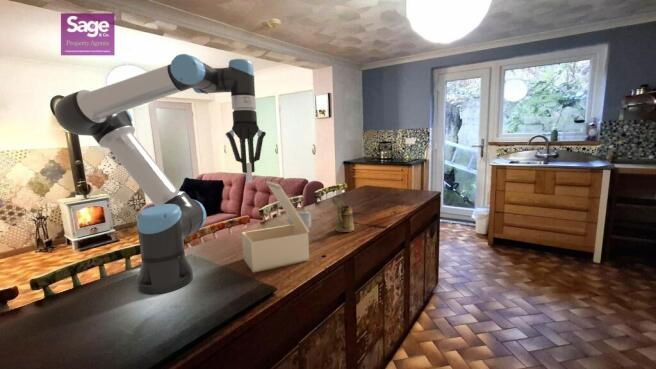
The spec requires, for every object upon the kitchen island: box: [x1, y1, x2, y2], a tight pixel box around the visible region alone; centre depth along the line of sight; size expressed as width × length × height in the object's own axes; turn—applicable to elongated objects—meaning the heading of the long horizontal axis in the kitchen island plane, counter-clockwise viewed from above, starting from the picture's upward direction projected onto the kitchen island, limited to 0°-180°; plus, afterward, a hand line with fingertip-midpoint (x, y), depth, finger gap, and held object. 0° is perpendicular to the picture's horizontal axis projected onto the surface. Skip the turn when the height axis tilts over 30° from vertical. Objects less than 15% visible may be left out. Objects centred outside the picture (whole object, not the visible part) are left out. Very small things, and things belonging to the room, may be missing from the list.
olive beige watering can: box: [331, 195, 355, 233], centre depth 142 cm, size 9×14×18 cm, turn 150°
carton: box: [241, 224, 310, 274], centre depth 110 cm, size 20×14×10 cm
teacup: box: [287, 211, 312, 230], centre depth 147 cm, size 14×11×8 cm
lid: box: [265, 180, 310, 234], centre depth 111 cm, size 20×14×1 cm
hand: (249, 182), depth 103 cm, fingers closed
